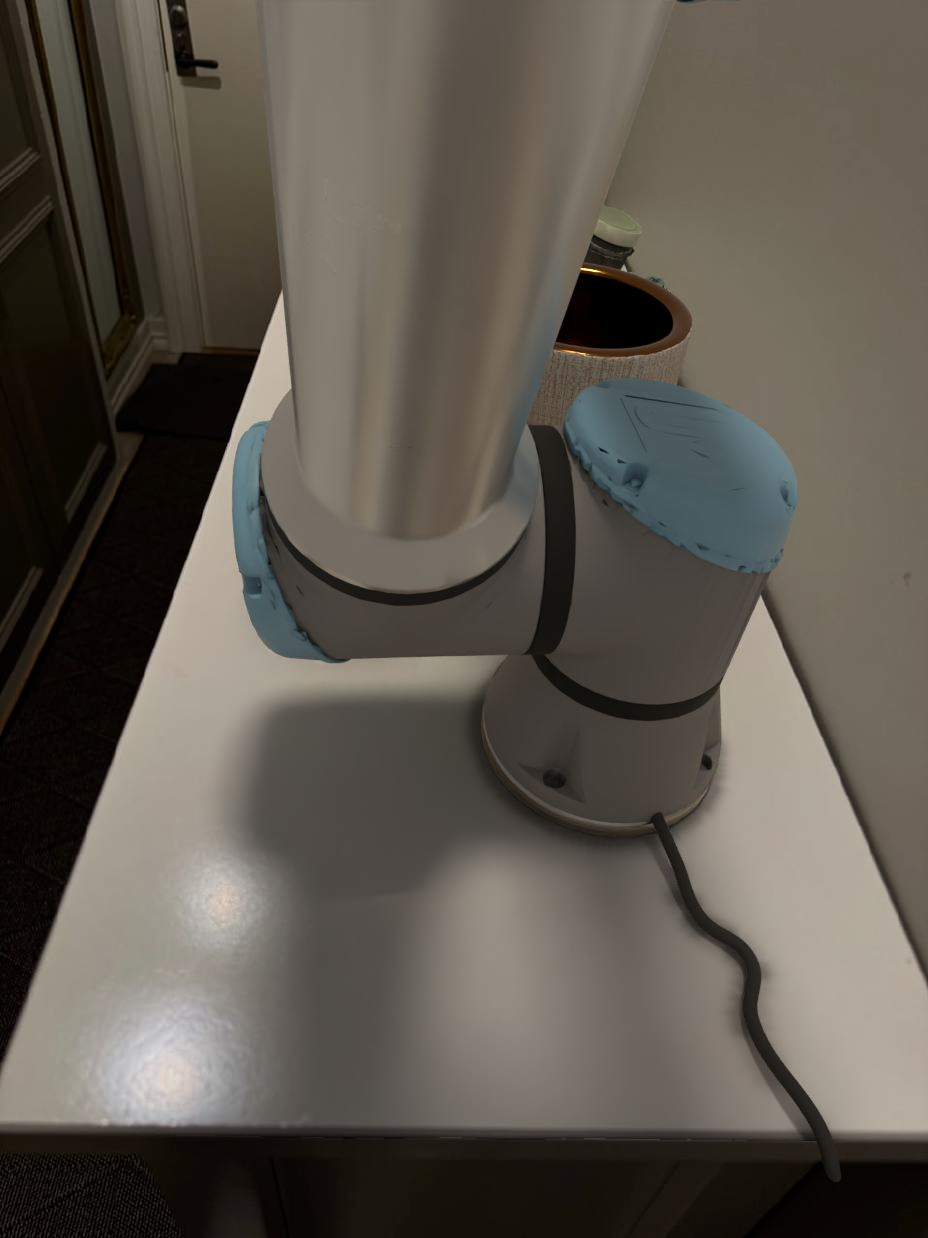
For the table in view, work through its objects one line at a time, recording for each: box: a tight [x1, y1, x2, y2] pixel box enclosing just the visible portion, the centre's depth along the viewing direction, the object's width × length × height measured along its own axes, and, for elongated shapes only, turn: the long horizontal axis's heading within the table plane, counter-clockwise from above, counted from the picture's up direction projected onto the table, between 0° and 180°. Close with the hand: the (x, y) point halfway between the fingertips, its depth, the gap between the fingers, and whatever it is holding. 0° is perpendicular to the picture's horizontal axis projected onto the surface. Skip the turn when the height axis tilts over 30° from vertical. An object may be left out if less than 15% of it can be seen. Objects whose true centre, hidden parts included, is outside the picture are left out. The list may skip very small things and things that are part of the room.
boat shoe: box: [584, 204, 643, 270], centre depth 113 cm, size 11×29×9 cm, turn 10°
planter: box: [527, 262, 694, 425], centre depth 73 cm, size 18×18×16 cm
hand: (375, 387), depth 67 cm, fingers open, 13 cm apart
